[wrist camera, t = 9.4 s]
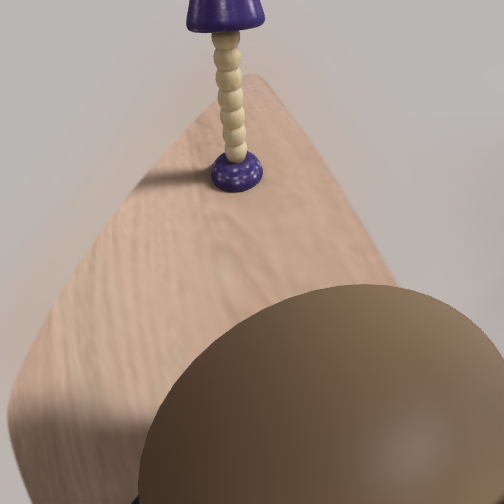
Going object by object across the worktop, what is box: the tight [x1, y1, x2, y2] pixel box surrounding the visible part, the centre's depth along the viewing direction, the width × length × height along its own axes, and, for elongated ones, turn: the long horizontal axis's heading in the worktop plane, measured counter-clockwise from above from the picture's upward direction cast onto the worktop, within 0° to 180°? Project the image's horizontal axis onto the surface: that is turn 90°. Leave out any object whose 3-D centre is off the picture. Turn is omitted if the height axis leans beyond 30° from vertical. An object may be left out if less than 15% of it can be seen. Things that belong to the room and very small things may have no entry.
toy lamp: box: [186, 0, 265, 192], centre depth 18 cm, size 5×5×17 cm
